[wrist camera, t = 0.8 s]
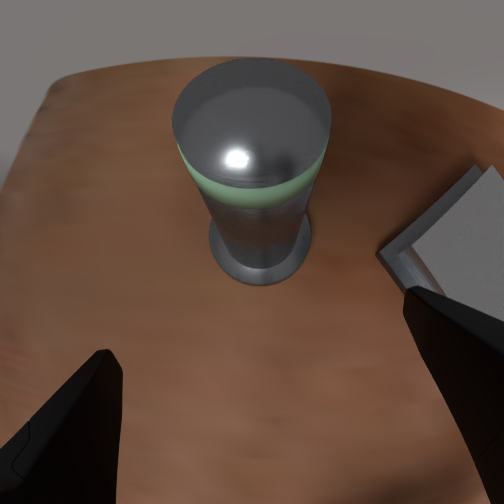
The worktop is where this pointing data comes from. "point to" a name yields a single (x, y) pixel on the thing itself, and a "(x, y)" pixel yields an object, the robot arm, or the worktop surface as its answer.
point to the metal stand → (456, 245)
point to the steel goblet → (255, 161)
